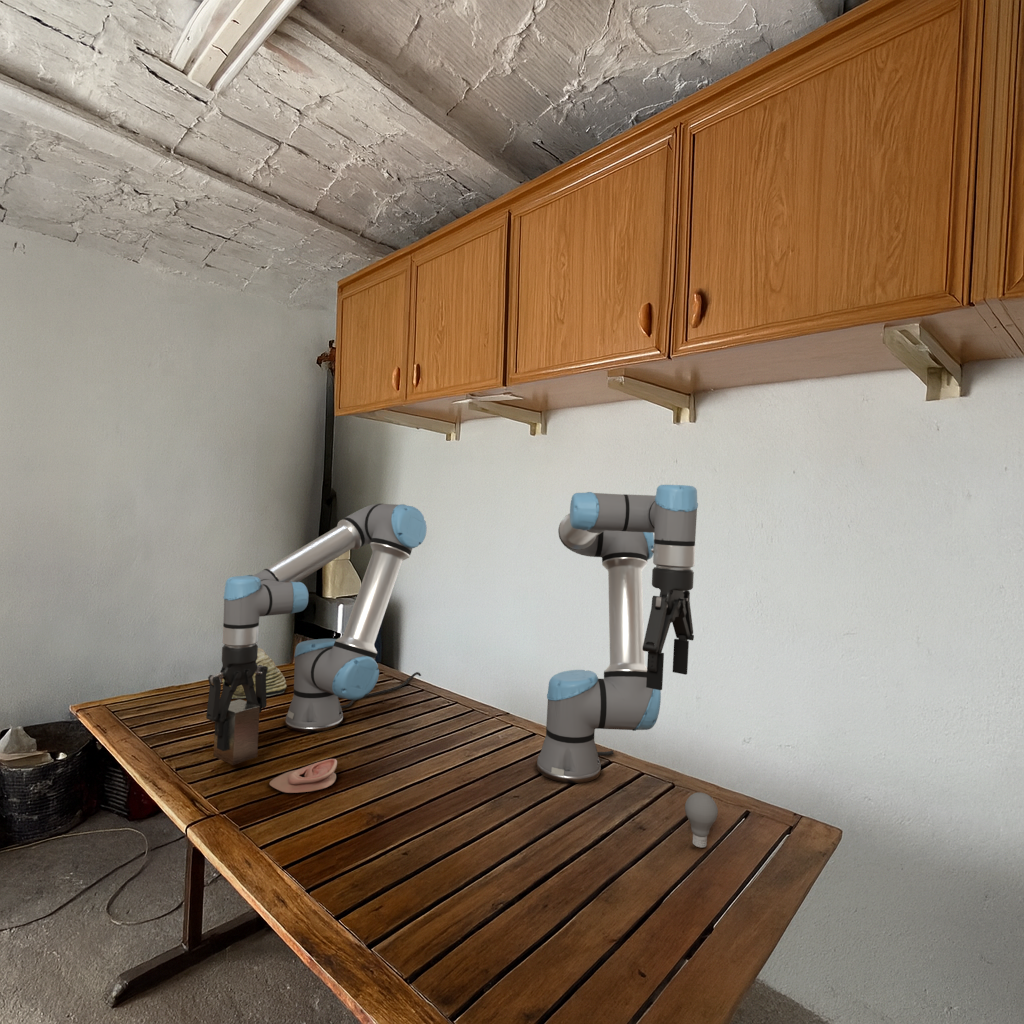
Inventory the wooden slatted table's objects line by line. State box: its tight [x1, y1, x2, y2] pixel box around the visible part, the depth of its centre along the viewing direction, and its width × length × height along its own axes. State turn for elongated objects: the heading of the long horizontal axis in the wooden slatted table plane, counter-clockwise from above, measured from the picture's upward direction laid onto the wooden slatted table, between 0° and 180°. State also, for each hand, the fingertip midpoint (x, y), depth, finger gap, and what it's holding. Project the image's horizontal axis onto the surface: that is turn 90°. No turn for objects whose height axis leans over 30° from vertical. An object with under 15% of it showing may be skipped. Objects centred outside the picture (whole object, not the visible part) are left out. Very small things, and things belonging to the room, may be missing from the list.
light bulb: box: [684, 792, 719, 849], centre depth 120 cm, size 6×6×10 cm
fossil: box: [222, 647, 288, 699], centre depth 198 cm, size 9×18×15 cm, turn 132°
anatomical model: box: [269, 758, 338, 794], centre depth 140 cm, size 13×4×12 cm
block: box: [213, 698, 260, 766], centre depth 145 cm, size 6×8×12 cm
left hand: (236, 744), depth 145 cm, fingers closed on block, 6 cm apart
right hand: (667, 680), depth 119 cm, fingers open, 13 cm apart
